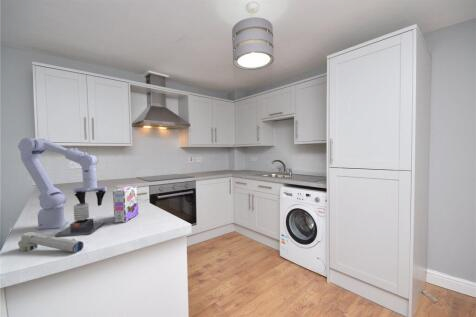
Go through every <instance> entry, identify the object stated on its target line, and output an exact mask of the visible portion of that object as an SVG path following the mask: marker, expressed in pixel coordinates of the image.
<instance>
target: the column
mask: <svg viewBox="0 0 476 317" xmlns="http://www.w3.org/2000/svg"><path fill="white" fill-rule="evenodd" d="M89 212H90V210H89V203H87V202H85V203H82V204H80V203H77V204H75V205H73V220H74V221H73V222H75V221H78V220H85V219H90V213H89Z"/></svg>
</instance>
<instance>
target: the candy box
mask: <svg viewBox="0 0 476 317" xmlns="http://www.w3.org/2000/svg"><path fill="white" fill-rule="evenodd" d="M112 197H113V219H114V220H113V221H114V223H115V224H117V223H120V224H121V223H122V224H123V223H127V222H129V221H130V220H131V219H133V218H136V217H137V216H138V215H139V204H138V203H139V202H138V200H139V199H138V198H139V197H138V186H137V185H135V186H134V185H132V186H129V185H128V186H125V187H121V188H117V189H113V191H112ZM136 215H137V216H136Z"/></svg>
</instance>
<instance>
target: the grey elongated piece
mask: <svg viewBox="0 0 476 317" xmlns="http://www.w3.org/2000/svg"><path fill="white" fill-rule="evenodd" d="M84 244H85V243H84V242H83V241H81V240H77V239H75V238H72V239H71V238H63V237H54V236H49V235H48V236H47V235H39V234H37V233H36V232H33V231H29V232H24V233H23V234H22V235H21V239H20V240H19V241H18V242H17V245H18V247H19V251H20V252H25V251H29V250H30V251H33V250H36V249H38V247H39V246H42V247H47V248H53V249H56V250H61V251H64V252H66V253H75V254H76V253H78V252H80V251H82V249H83V248H84Z"/></svg>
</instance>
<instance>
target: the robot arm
mask: <svg viewBox="0 0 476 317" xmlns="http://www.w3.org/2000/svg"><path fill="white" fill-rule="evenodd" d="M17 148H18V149H19V151H20V157H21V158H20V159H21V162H22V164H23V165H24V167H25V168H26V170H27V172H28V174H29V175H30V177H31V178H32V181H33V182H34V184H35V185H36V188H37V189H38V191H39V192H40V193H39V195H38V197H37V198H38V201H39V206H40V207H41V209H40V210H39V211H38V214H37V226H38V227H37V228H36V229H37V230H44V229H45V230H47V229H59V228H61V227H63V226H65V225H67V224H68V223H70V222H69V221H65V210H64V208H65V207H64V206H65V204H66V202H67V196H66V194H64V193H63V192H62V191H61V189H59V188H57V187H55V185H54V183H53V182H52V180H51V179H50V178H49V177H50V176H49V175H48V174H47V172H46V170H45V169H44V166H43V165H42V164H41V162H40V160H39V159H40V157H41V156H42V155H43V154H44V153H45V152H46V151H48V150H49V151H51V152H55V153H57V154H60V155H64V158H65V159H67V160H69V161H71V162H74V163H77V164H79V166H80V167H81V170H82V187H76V188H73V193H75V194H74V196H75V197H76V199H77V201H78V202H79V204H82V203H86V194H87V193H90V192H95V195H96V199H97V200H96V201H97V202H96V203H97V207H100V206H102V203H103V199H104V196H105V194H106V191H108V187H107V186H98V180H97V178H98V177H97V164H98V161H99V160H98V157H97V156H96V155H94V154H88V152H86V151H85V152H83V151H81V150H79V148H77V147H74V148H73V147H72V148H71V147H70V148H67V147H64V146H61V145H60V144H57V143H55V142H53V141H50V140H49V139H45V138H34V137H33V138H31V137H23V138H22V139H21V140H20V141H19V143H18V145H17Z"/></svg>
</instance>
